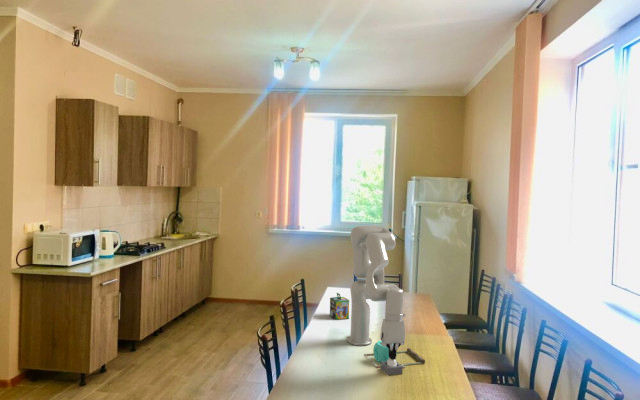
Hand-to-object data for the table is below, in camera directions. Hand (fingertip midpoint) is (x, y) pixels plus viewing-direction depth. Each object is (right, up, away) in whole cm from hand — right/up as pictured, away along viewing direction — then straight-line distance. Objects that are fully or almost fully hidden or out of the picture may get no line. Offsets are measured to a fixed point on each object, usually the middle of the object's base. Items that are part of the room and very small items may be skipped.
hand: (392, 358), depth 194 cm
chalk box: (-20, -2, +75) cm, 78 cm away
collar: (0, -6, +1) cm, 6 cm away
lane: (+3, -5, +13) cm, 15 cm away
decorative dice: (-2, -6, +12) cm, 13 cm away
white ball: (0, -4, 0) cm, 4 cm away
